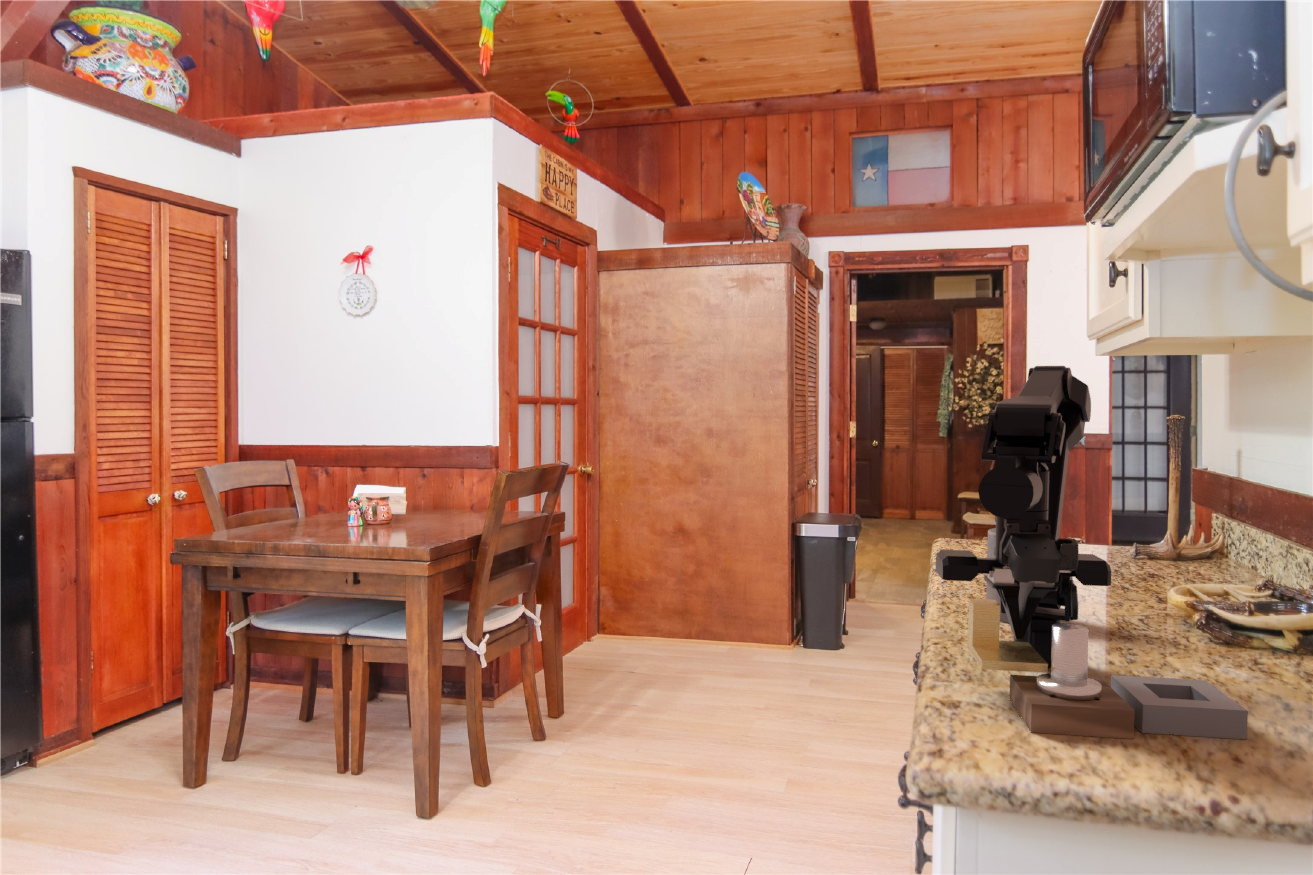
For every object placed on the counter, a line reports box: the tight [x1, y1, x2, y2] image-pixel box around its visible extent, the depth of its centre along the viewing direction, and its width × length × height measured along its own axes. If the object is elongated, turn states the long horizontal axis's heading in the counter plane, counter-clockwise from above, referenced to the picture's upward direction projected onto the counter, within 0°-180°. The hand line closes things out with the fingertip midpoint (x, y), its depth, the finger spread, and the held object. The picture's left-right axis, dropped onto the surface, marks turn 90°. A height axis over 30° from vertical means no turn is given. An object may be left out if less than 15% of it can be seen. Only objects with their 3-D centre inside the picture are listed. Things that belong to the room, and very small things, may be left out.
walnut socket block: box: [1008, 674, 1135, 740], centre depth 99 cm, size 10×10×3 cm
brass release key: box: [967, 598, 1049, 674], centre depth 106 cm, size 9×7×6 cm
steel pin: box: [1037, 622, 1102, 700], centre depth 98 cm, size 6×6×10 cm
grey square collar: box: [1110, 674, 1249, 740], centre depth 99 cm, size 10×10×3 cm
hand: (1018, 638), depth 108 cm, fingers closed
